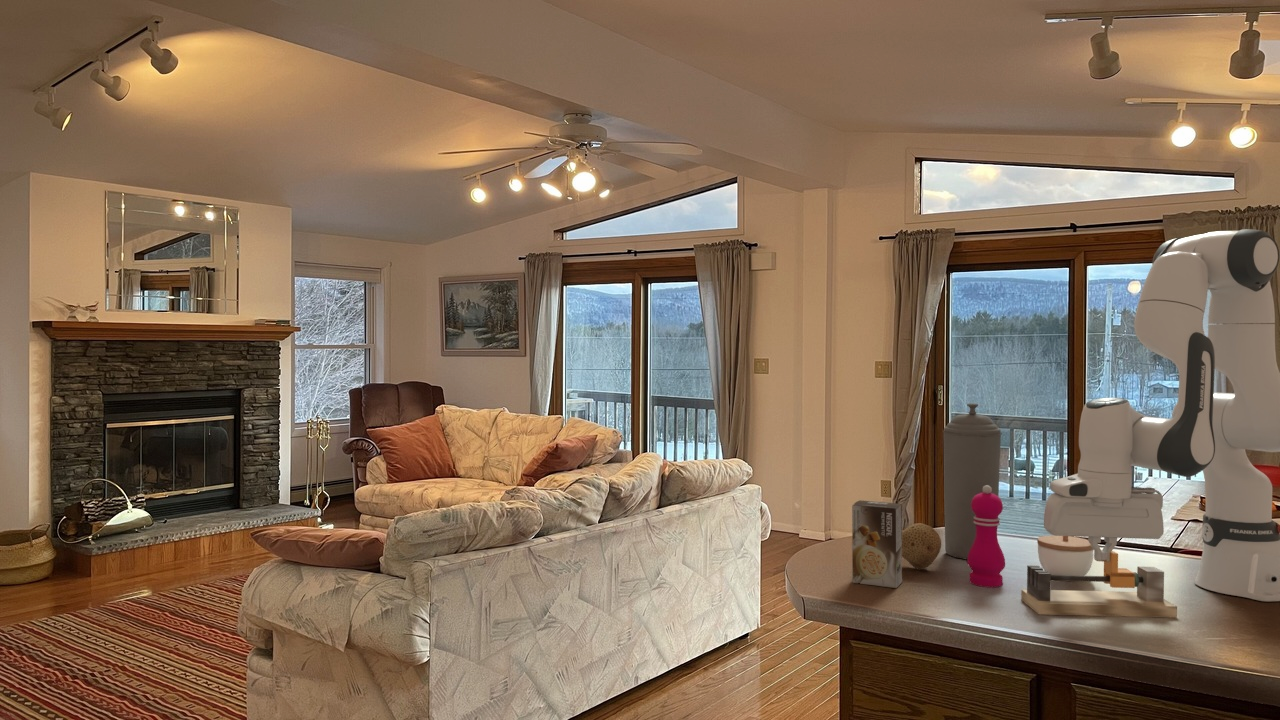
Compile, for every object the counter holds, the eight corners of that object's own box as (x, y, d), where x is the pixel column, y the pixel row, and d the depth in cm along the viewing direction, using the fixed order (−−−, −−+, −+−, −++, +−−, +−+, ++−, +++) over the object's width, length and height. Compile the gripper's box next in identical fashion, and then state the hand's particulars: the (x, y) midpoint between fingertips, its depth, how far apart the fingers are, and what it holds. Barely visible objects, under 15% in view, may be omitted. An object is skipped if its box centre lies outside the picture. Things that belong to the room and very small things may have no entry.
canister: (929, 551, 210) (931, 401, 210) (975, 547, 214) (977, 401, 213) (964, 564, 198) (966, 405, 197) (1012, 560, 202) (1014, 404, 201)
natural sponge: (936, 577, 187) (936, 529, 187) (892, 571, 191) (893, 525, 191) (944, 567, 195) (944, 521, 195) (902, 562, 199) (903, 517, 199)
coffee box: (903, 581, 184) (904, 503, 183) (896, 589, 178) (897, 508, 178) (858, 575, 188) (859, 499, 188) (850, 583, 182) (851, 504, 182)
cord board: (1151, 602, 169) (1152, 563, 169) (1177, 617, 160) (1177, 575, 160) (1021, 599, 171) (1021, 560, 171) (1039, 614, 162) (1039, 572, 162)
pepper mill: (1008, 589, 178) (1009, 488, 178) (969, 586, 180) (971, 487, 179) (1001, 579, 185) (1002, 483, 185) (964, 577, 187) (965, 481, 186)
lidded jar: (1053, 568, 195) (1054, 525, 195) (1103, 579, 186) (1104, 534, 186) (1026, 575, 189) (1027, 531, 188) (1076, 587, 180) (1077, 540, 180)
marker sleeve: (1125, 582, 167) (1126, 549, 167) (1134, 588, 163) (1135, 554, 163) (1103, 582, 167) (1104, 549, 167) (1111, 587, 164) (1112, 553, 164)
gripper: (1154, 485, 168) (1152, 559, 168) (1041, 481, 169) (1039, 554, 169) (1171, 490, 161) (1169, 567, 161) (1054, 487, 163) (1052, 563, 163)
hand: (1102, 560), depth 165 cm, fingers closed
